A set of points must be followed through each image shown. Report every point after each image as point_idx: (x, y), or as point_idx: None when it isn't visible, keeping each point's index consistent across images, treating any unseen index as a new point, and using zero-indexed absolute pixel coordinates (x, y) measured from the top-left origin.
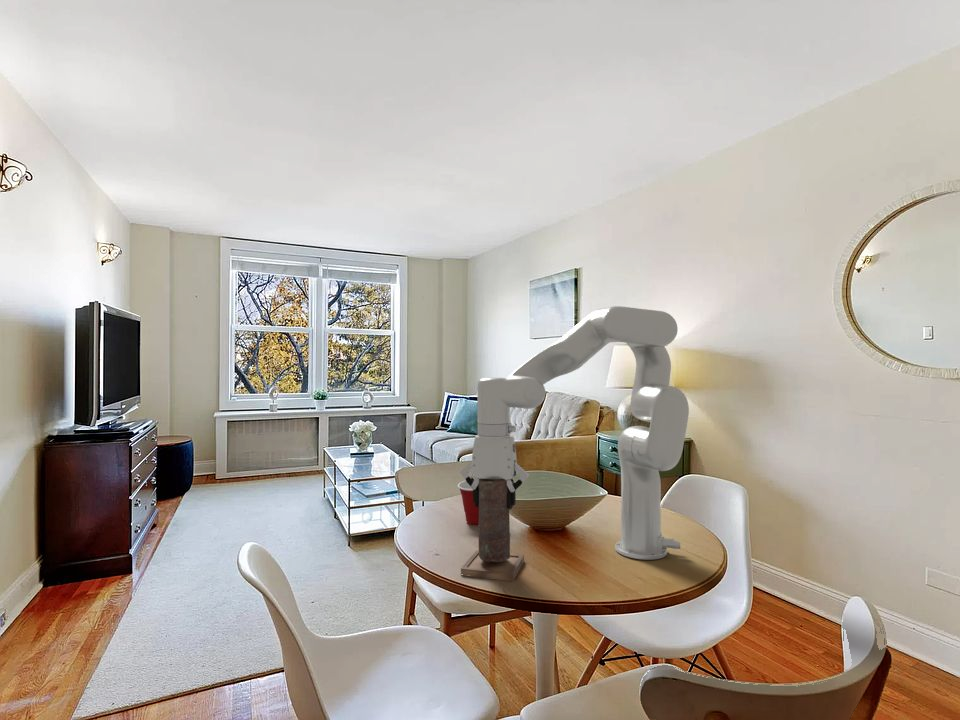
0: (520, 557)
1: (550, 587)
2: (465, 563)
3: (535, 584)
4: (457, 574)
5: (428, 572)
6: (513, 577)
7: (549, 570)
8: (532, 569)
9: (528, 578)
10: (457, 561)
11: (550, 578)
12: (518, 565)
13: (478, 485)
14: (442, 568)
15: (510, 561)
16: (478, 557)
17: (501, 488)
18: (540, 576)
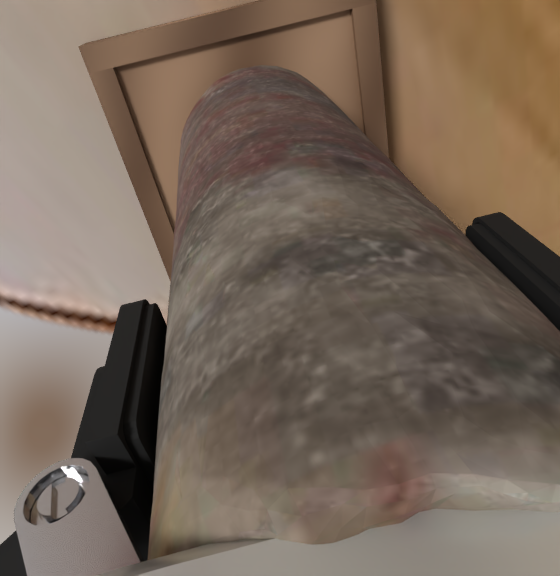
0: (365, 23)
1: (530, 202)
2: (158, 243)
3: (473, 207)
4: (160, 279)
5: (48, 320)
6: None
7: (512, 31)
8: (431, 63)
9: (436, 170)
10: (55, 161)
11: (524, 122)
12: (385, 129)
13: (138, 531)
14: (62, 263)
15: (328, 91)
16: (153, 128)
17: None
18: (480, 124)
